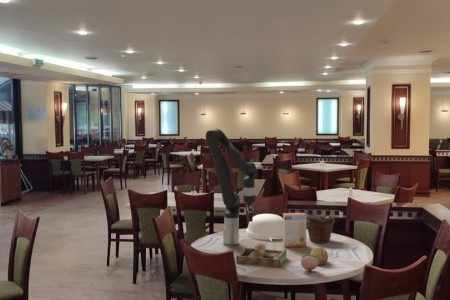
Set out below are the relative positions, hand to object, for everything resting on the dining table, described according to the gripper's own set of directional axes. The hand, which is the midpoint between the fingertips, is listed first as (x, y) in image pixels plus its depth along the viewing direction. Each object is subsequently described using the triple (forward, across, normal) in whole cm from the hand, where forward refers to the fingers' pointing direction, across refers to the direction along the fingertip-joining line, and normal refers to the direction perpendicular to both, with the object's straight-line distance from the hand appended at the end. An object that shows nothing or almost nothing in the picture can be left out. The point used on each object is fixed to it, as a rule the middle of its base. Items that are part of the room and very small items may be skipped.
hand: (250, 220), depth 310 cm
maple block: (+15, +23, +4) cm, 28 cm away
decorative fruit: (+19, +46, +28) cm, 57 cm away
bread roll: (+20, +30, +36) cm, 51 cm away
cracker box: (+19, -4, +28) cm, 34 cm away
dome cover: (+19, -34, +13) cm, 41 cm away
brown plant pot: (+20, -17, +46) cm, 53 cm away
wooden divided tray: (+18, +27, +4) cm, 33 cm away
